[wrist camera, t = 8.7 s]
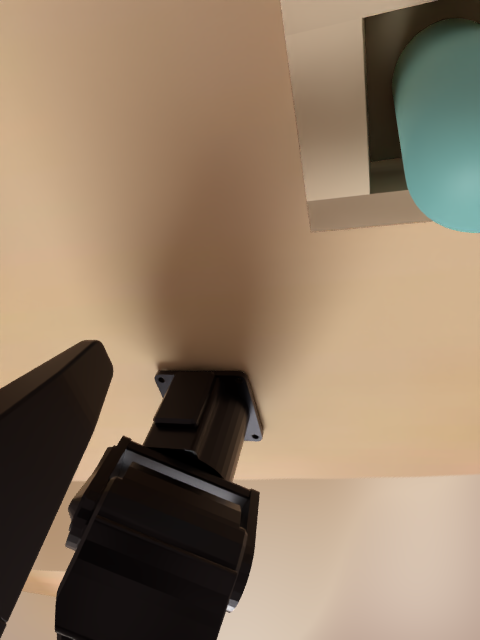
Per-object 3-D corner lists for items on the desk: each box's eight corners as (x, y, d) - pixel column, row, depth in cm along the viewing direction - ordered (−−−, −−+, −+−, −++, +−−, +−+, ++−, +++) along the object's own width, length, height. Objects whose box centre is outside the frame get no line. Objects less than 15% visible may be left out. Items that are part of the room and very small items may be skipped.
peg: (505, 6, 15) (620, 39, 8) (492, 120, 17) (575, 225, 10) (391, 31, 16) (404, 79, 9) (392, 135, 18) (404, 239, 11)
